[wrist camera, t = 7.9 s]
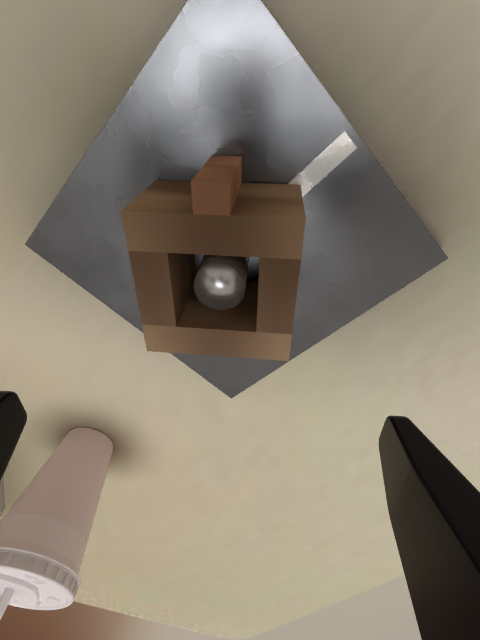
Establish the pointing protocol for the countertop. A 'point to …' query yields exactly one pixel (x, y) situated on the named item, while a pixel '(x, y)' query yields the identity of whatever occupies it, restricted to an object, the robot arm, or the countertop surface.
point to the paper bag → (1, 496)
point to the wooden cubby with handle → (216, 239)
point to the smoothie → (53, 524)
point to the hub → (257, 167)
